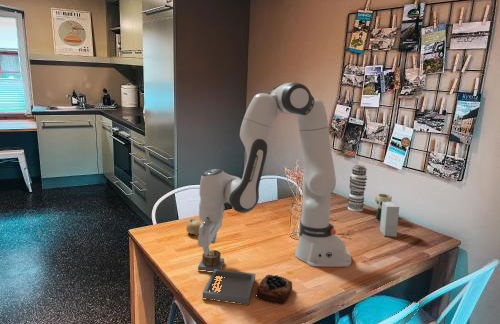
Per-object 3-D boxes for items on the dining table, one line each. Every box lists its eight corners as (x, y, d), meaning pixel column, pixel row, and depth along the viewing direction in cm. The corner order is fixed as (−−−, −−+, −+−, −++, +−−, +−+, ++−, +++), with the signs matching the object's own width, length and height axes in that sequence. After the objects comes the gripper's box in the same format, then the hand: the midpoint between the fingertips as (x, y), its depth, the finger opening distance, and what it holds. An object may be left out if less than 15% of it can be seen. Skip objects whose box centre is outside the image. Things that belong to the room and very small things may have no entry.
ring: (221, 259, 138) (221, 250, 138) (217, 267, 132) (217, 258, 131) (205, 257, 139) (205, 249, 138) (200, 265, 133) (200, 256, 132)
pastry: (252, 299, 117) (253, 283, 116) (264, 281, 128) (264, 266, 127) (285, 307, 114) (286, 291, 112) (294, 288, 125) (295, 272, 123)
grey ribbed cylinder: (366, 208, 206) (371, 166, 200) (358, 212, 199) (363, 168, 193) (351, 204, 212) (356, 163, 206) (344, 208, 205) (348, 165, 200)
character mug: (369, 216, 194) (371, 193, 191) (377, 214, 197) (380, 191, 195) (385, 223, 185) (388, 199, 182) (394, 221, 188) (397, 197, 186)
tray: (255, 280, 128) (255, 273, 128) (248, 305, 114) (248, 298, 113) (214, 275, 131) (214, 269, 130) (202, 299, 116) (202, 292, 115)
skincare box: (396, 237, 169) (400, 207, 165) (383, 236, 169) (387, 206, 166) (391, 230, 177) (394, 201, 174) (378, 229, 177) (382, 200, 174)
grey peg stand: (224, 263, 139) (224, 246, 138) (219, 273, 132) (219, 256, 130) (204, 260, 141) (204, 244, 139) (198, 271, 133) (198, 254, 131)
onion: (202, 229, 170) (202, 215, 169) (205, 236, 163) (205, 221, 161) (185, 231, 168) (185, 216, 166) (187, 238, 160) (187, 223, 159)
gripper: (212, 224, 121) (210, 262, 124) (225, 205, 141) (224, 237, 144) (193, 222, 122) (193, 260, 125) (210, 203, 142) (209, 235, 145)
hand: (209, 247), depth 135 cm, fingers open, 8 cm apart
